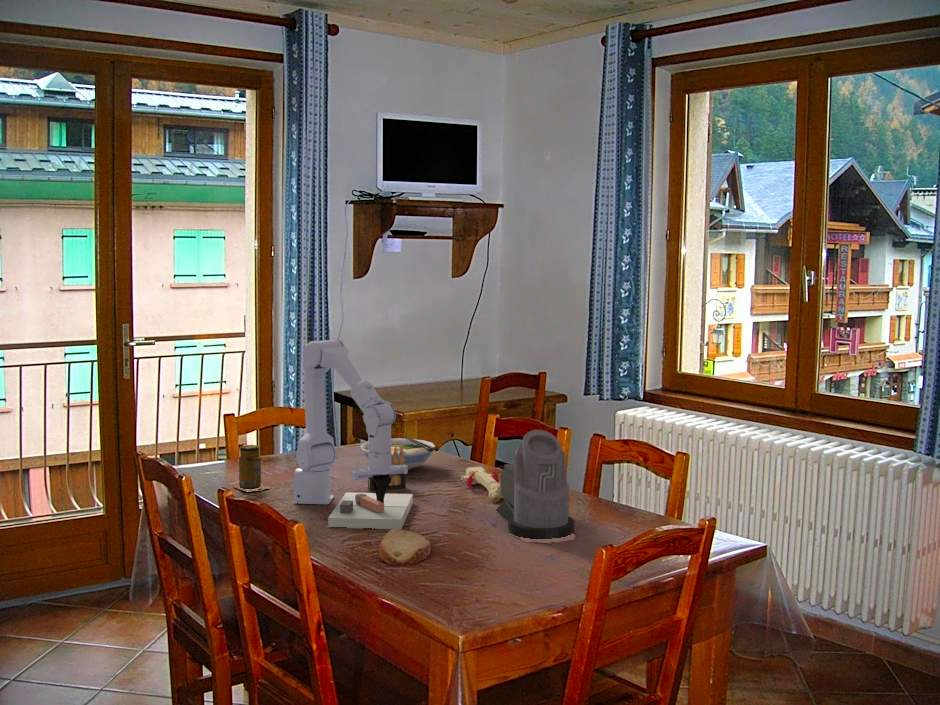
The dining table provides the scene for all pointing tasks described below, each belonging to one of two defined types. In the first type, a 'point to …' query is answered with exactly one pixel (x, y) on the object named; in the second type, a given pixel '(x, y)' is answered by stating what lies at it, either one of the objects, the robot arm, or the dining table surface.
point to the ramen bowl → (409, 450)
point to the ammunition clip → (396, 479)
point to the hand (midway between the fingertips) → (380, 504)
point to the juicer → (537, 489)
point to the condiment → (249, 467)
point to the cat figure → (484, 481)
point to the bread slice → (403, 548)
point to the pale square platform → (371, 512)
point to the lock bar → (369, 502)
